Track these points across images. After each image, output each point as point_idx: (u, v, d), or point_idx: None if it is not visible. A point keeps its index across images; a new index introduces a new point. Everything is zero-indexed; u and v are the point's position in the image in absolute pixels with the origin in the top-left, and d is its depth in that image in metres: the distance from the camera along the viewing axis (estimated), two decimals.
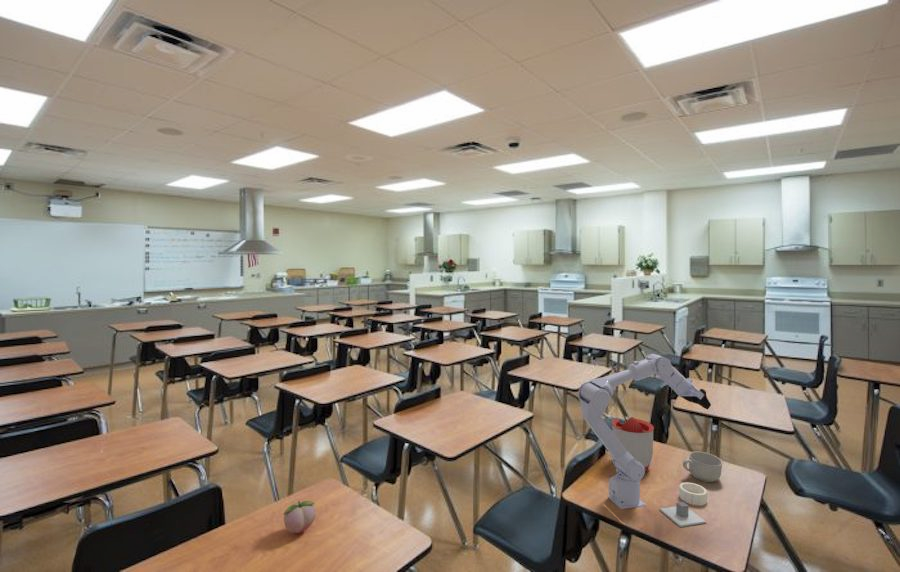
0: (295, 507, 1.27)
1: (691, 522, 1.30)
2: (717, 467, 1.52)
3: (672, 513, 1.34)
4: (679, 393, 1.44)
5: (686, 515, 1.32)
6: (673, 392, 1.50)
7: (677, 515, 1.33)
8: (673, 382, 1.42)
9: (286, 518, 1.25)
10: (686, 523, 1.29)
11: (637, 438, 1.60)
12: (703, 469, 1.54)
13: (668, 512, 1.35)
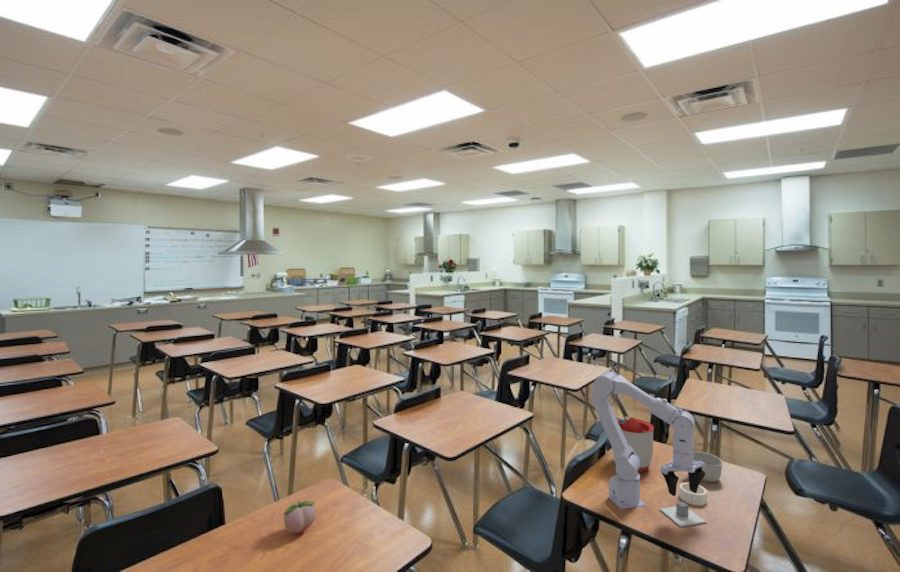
0: (295, 507, 1.27)
1: (691, 522, 1.30)
2: (717, 467, 1.52)
3: (672, 513, 1.34)
4: None
5: (686, 515, 1.32)
6: None
7: (677, 515, 1.33)
8: (676, 447, 1.32)
9: (286, 518, 1.25)
10: (686, 523, 1.29)
11: (637, 438, 1.60)
12: None
13: (668, 512, 1.35)
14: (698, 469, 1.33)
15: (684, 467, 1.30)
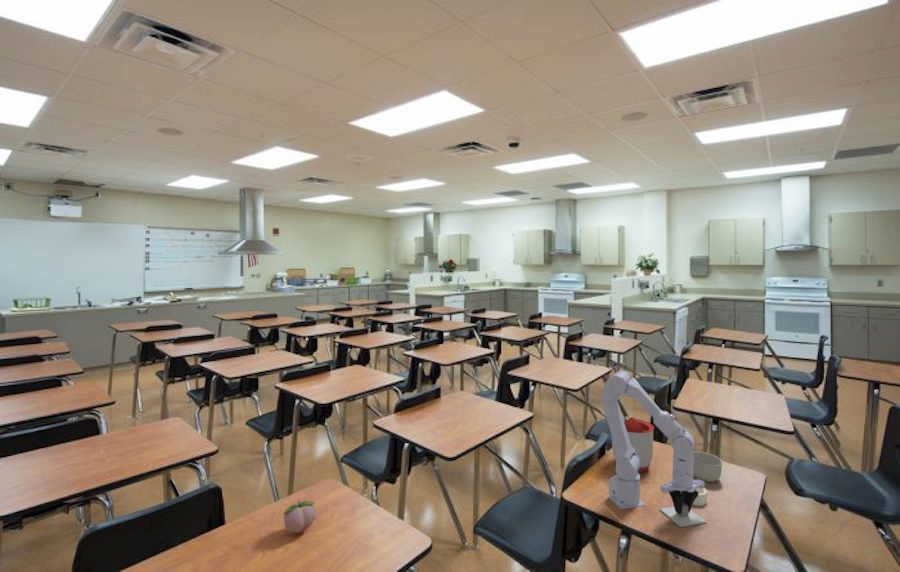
0: (295, 507, 1.27)
1: (691, 522, 1.30)
2: (717, 467, 1.52)
3: (672, 513, 1.34)
4: None
5: (686, 515, 1.32)
6: None
7: (677, 515, 1.33)
8: (676, 466, 1.32)
9: (286, 518, 1.25)
10: (686, 523, 1.29)
11: (637, 438, 1.60)
12: (703, 469, 1.54)
13: (668, 512, 1.35)
14: None
15: (684, 486, 1.30)
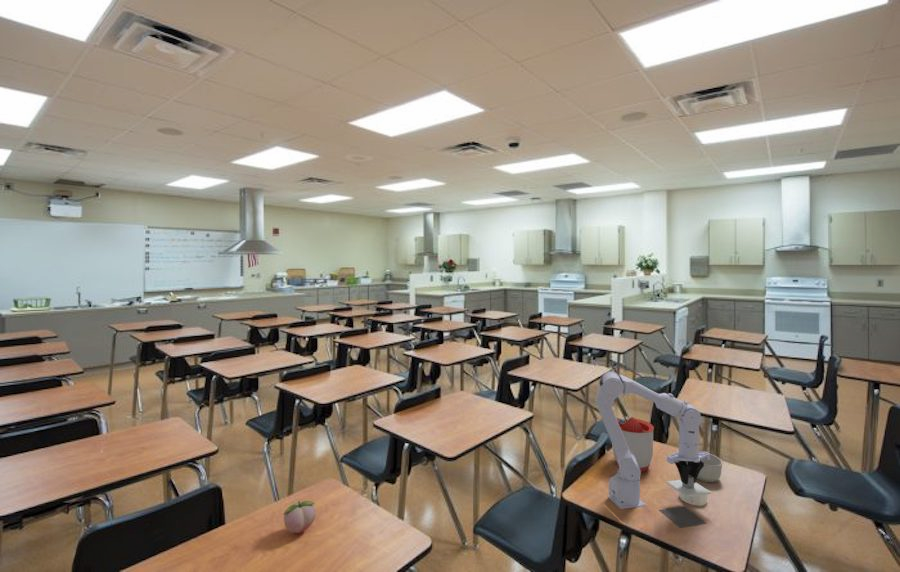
0: (295, 507, 1.27)
1: (697, 493, 1.34)
2: (716, 467, 1.52)
3: (678, 485, 1.39)
4: None
5: (692, 487, 1.37)
6: None
7: (683, 487, 1.38)
8: (685, 439, 1.35)
9: (286, 518, 1.25)
10: (692, 493, 1.34)
11: (637, 438, 1.60)
12: (703, 469, 1.54)
13: (674, 484, 1.39)
14: None
15: (690, 457, 1.35)
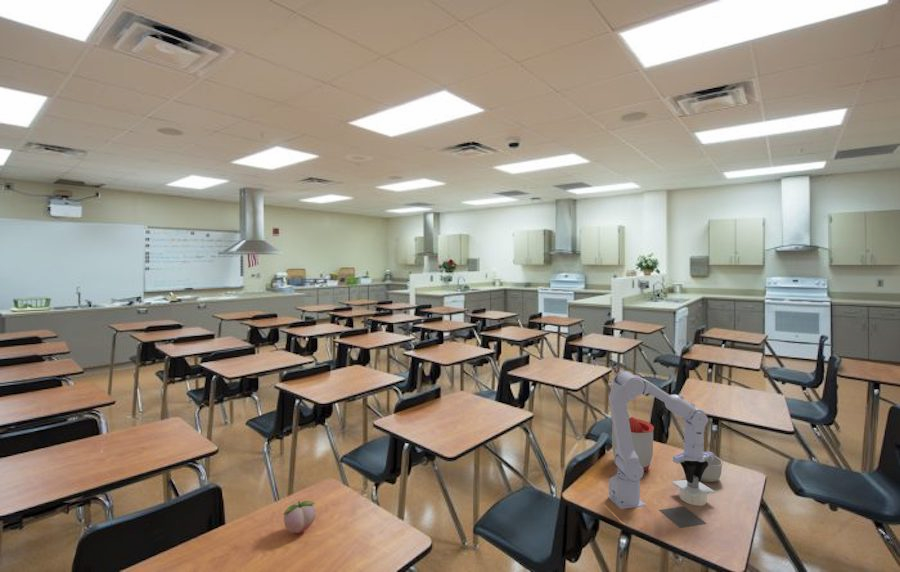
0: (295, 507, 1.27)
1: (701, 492, 1.39)
2: (717, 467, 1.52)
3: (683, 485, 1.44)
4: None
5: (696, 486, 1.42)
6: None
7: (688, 486, 1.43)
8: (693, 440, 1.40)
9: (286, 518, 1.25)
10: (697, 493, 1.39)
11: (637, 438, 1.60)
12: None
13: (679, 484, 1.45)
14: None
15: (695, 457, 1.40)
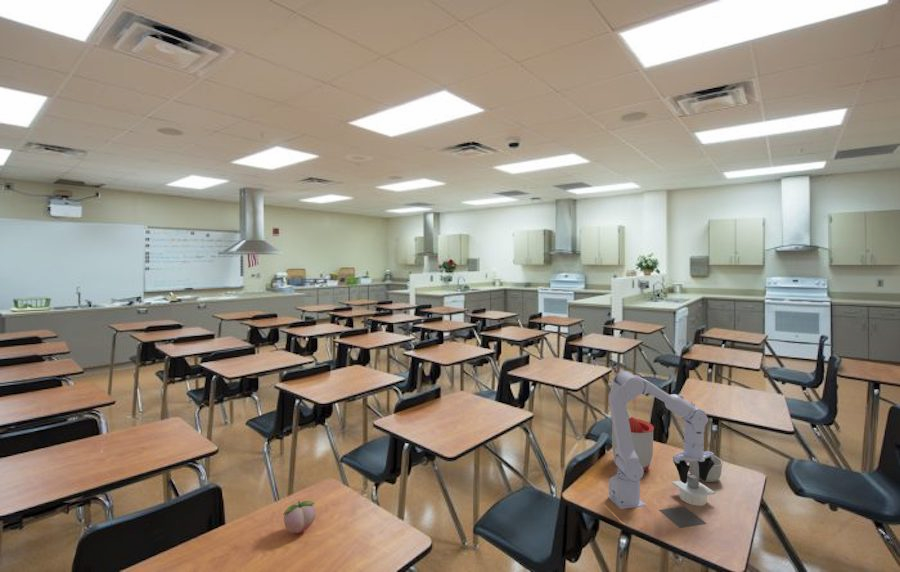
0: (295, 507, 1.27)
1: (701, 493, 1.39)
2: (717, 467, 1.52)
3: (683, 485, 1.44)
4: None
5: (697, 487, 1.42)
6: None
7: (688, 487, 1.43)
8: (693, 439, 1.40)
9: (286, 518, 1.25)
10: (697, 493, 1.39)
11: (637, 438, 1.60)
12: None
13: (680, 484, 1.45)
14: (707, 459, 1.43)
15: (695, 457, 1.40)
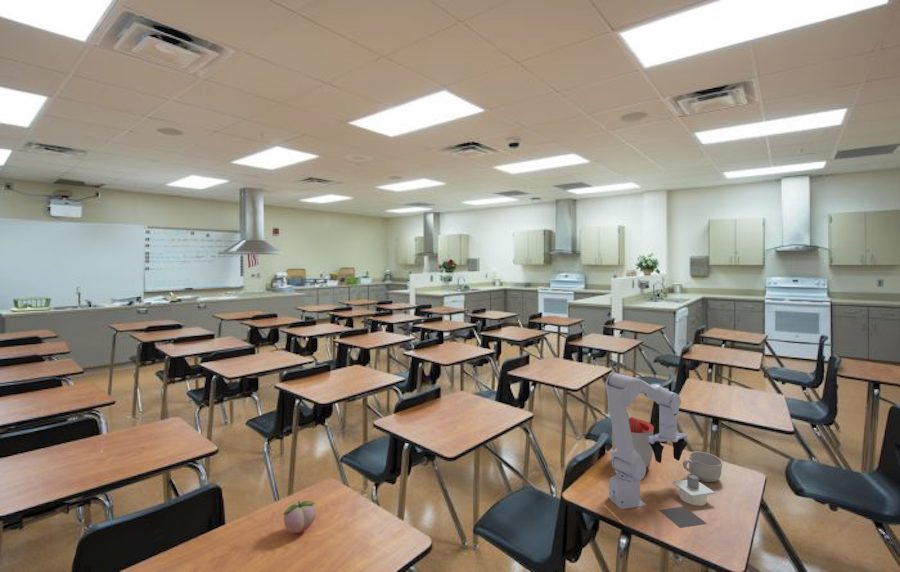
0: (295, 507, 1.27)
1: (701, 493, 1.39)
2: (717, 467, 1.52)
3: (683, 485, 1.44)
4: None
5: (697, 487, 1.42)
6: None
7: (688, 487, 1.43)
8: (671, 422, 1.49)
9: (286, 518, 1.25)
10: (697, 493, 1.39)
11: (637, 438, 1.60)
12: (703, 469, 1.54)
13: (680, 484, 1.45)
14: (681, 440, 1.52)
15: (668, 437, 1.49)
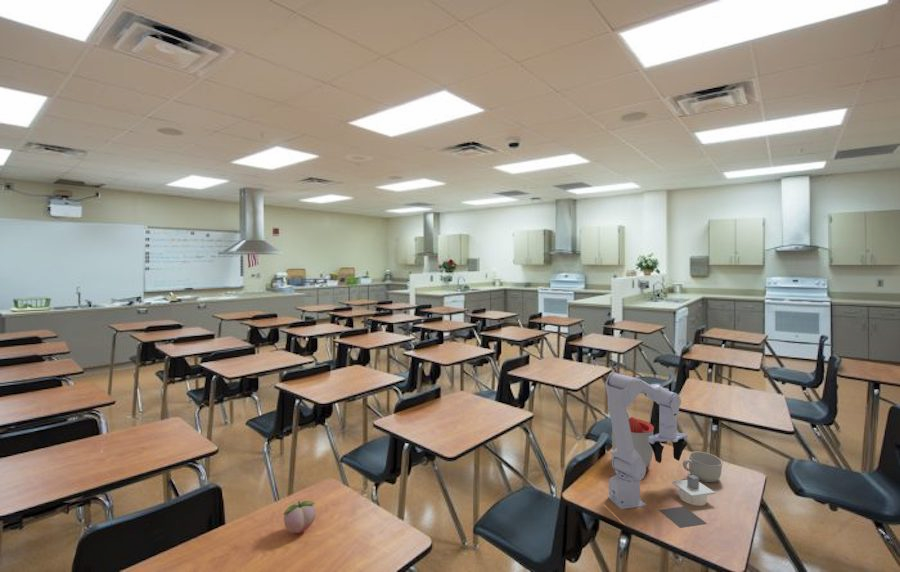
0: (295, 507, 1.27)
1: (701, 493, 1.39)
2: (717, 467, 1.52)
3: (683, 485, 1.44)
4: None
5: (697, 487, 1.42)
6: None
7: (688, 487, 1.43)
8: (671, 422, 1.49)
9: (286, 518, 1.25)
10: (697, 493, 1.39)
11: (637, 438, 1.60)
12: (703, 469, 1.54)
13: (680, 484, 1.45)
14: (681, 440, 1.52)
15: (668, 437, 1.49)
